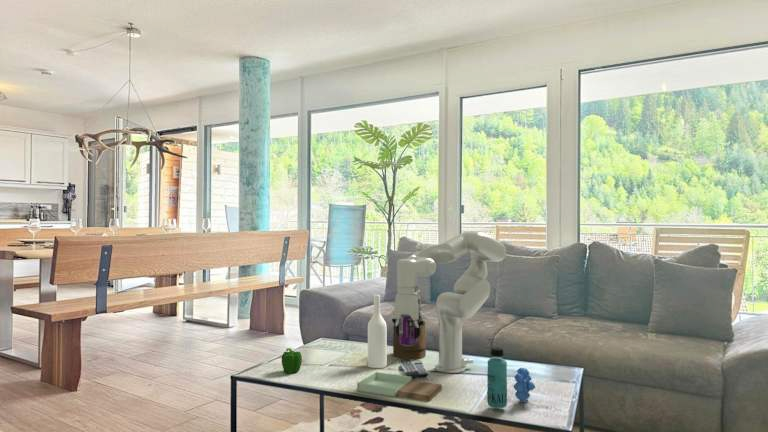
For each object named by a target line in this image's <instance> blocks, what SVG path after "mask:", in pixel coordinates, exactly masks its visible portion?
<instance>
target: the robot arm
mask: <svg viewBox="0 0 768 432" xmlns="http://www.w3.org/2000/svg"><path fill="white" fill-rule="evenodd" d="M506 249H507V248H506V247H505V245H504V244H503V243H502V242H501V241H499V240H497V239H495V238H493V237H491V236H489V235H488V234H485V233H484V232H477V231H463V232H461V233H458V234H457V235H455V236H453V237H451V238H450V239H448V240H446V241H444V242H443V243H439V244H435V245H433V246H430V247H427V248H423V249H421V250H419V251H417V252H415V253H412V254H411V255H409V256H408V257H407V258H401V259H398V260H397V263H396V272H397V275H396V276H397V278H396V279H397V293H396V295H395V300H394V310H393V311H391V313H390V314H388V317H389V319H390V320H391V321H392V323H393V325H394V324H395V326H396V333H397V336H398V337H399V318H400V317H401V316H400V315H411V316H410V317H411V318H412V320H413V321H414V323H415V326H416V328H415V338H418V337H419V336H420V326H421V325H422V324H423V323H424V322H425V323H426V322H427V320H428V316H427V315H426V314H425V313H424V312H423V310H422V309H423V308H422V302H421V296H420V294H419V293H420V292H421V288H419V287H418V281H417V280H418V278H419V277H422V278H423V277H424V278H425V277H431V276H433V275H434V274H435V273H436V271H437V265H439V264H440V265H441V264H447V263H452V262H454V261H455V260H457V259H459V258H461V257H462V256H464V255H466V254H468V253H470V265H469V267H468V268H467V270H466V271H464V273H463V274H462V275H461V276H460V277H459V278H458V279H457V280H456V281H455V283H454V286H453V291H454V292H452V291H451V292H449V291H446V292H442V293H440V294H439V295H438V296H437V299H436V302H435V304H436V312H437V317H438V319H437V321H438V363H436V364H435V366H434V368H435V370H436V371H438V372H441V373H445V374H457V373H462V372H465V371H466V370H467V367H466V365H467V364H468V365H471V364H472V365H473V364H474V358H468V357H467V358H464V357H463V327H462V325H463V324H462V321H461V319H462V320H466V319H467V320H468V319H470V318H472V317H473V316H474V315H475V314H476V313H477V312H478V311H479V309H481V307H482V306H483V304H485V302H486V301H487V300H488V298H489V296H490V293H491V284H490V283H489V281H488V279H487V277H488V267H487V262H491V263H499V262H501V261H504V259H505V258H506V256H507V250H506ZM394 315H395V317H394ZM420 318H422V320H421V321H420V320H419V319H420Z"/></svg>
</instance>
